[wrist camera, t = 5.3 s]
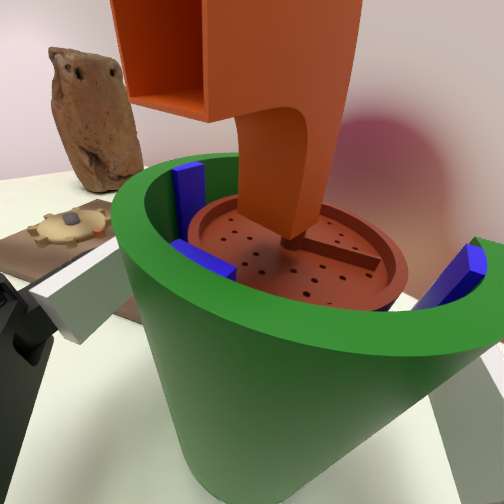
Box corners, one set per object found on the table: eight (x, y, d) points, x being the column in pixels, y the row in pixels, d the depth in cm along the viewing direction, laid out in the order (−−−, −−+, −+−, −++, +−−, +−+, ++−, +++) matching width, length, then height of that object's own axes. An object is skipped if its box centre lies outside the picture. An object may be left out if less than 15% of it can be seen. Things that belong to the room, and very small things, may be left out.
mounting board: (177, 337, 19) (172, 314, 17) (-24, 262, 24) (-46, 237, 22) (240, 243, 32) (242, 223, 30) (99, 205, 36) (93, 187, 34)
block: (128, 174, 49) (99, 54, 37) (151, 183, 46) (127, 57, 34) (75, 187, 41) (16, 41, 29) (98, 199, 38) (43, 42, 26)
